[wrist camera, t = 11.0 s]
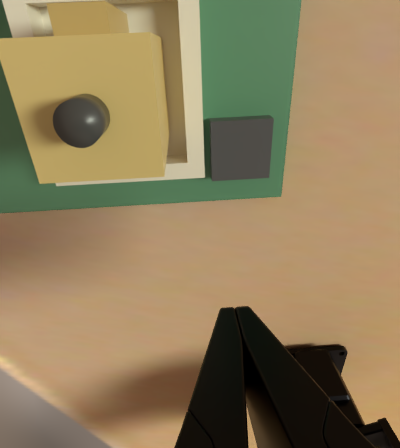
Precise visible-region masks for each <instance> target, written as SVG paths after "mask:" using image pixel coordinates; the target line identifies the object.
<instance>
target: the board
mask: <svg viewBox="0 0 400 448" xmlns="http://www.w3.org/2000/svg"><path fill="white" fill-rule="evenodd" d="M92 1H106V2H108V3H110V4H111V5H113V6H115V7H116V8H118V9H119V10H121V11H123V12H124V13H126V14H127V19H128V27H129V33H139V32H151V33H153V34H155V35H157V36H159V37H161V39H162V50H163V62H164V74H165V85H166V97H167V108H168V120H169V131H170V133H169V141H168V150H167V159H166V168H165V177H151V178H133V179H116V180H98V181H81V182H63V183H46V184H40V183H39V180H38V177H37V174H36V171H35V167H34V164H33V161H32V158H31V155H30V152H29V149H28V146H27V142H26V139H25V136H24V133H23V130H22V127H21V124H20V121H19V117H18V114H17V111H16V108H15V105H14V102H13V99H12V96H11V93H10V89H9V86H8V83H7V80H6V77H5V74H4V71H3V68H2V64H1V61H0V213H14V212H30V211H47V210H64V209H81V208H97V207H114V206H131V205H148V204H164V203H181V202H198V201H215V200H231V199H248V198H265V197H281V193H282V183H283V173H284V164H285V154H286V144H287V134H288V125H289V115H290V105H291V96H292V86H293V76H294V67H295V57H296V47H297V37H298V28H299V18H300V8H301V0H0V38H21V37H44V36H54V34H53V30H52V26H51V21H50V17H49V13H48V9H47V4H46V3H66V2H92Z"/></svg>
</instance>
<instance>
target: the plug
mask: <svg viewBox="0 0 400 448" xmlns="http://www.w3.org/2000/svg"><path fill="white" fill-rule="evenodd" d="M46 4H47V9H48V13H49V17H50V21H51V26H52V30H53V34H54V36H44V37H21V38H0V61H1V64H2V68H3V71H4V74H5V77H6V80H7V83H8V86H9V89H10V93H11V96H12V99H13V102H14V105H15V108H16V111H17V114H18V117H19V121H20V124H21V127H22V130H23V133H24V136H25V139H26V142H27V146H28V149H29V152H30V155H31V158H32V161H33V164H34V167H35V171H36V174H37V177H38V180H39V183H40V184H46V183H63V182H81V181H98V180H116V179H133V178H151V177H165V168H166V159H167V150H168V141H169V133H170V131H169V120H168V108H167V97H166V85H165V74H164V62H163V50H162V39H161V37H159V36H157V35H155V34H153V33H151V32H139V33H129V27H128V19H127V14H126V13H124V12H123V11H121V10H119V9H118V8H116V7H115V6H113V5H111V4H110V3H108V2H106V1H92V2H66V3H46Z"/></svg>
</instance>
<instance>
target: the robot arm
mask: <svg viewBox="0 0 400 448" xmlns="http://www.w3.org/2000/svg"><path fill="white" fill-rule="evenodd" d="M346 356H347V350H346V348H345V347H344V346H331V347H318V348H304V349H291V350H287V349H286V348H285V347H284V346H283V345H282V343H281V342H280V341H279V340H278V339H277V338H276V337H275V335H274V334H273V333H272V332H271V331H270V330H269V329H268V328H267V326H266V325H265V324H264V323H263V322H262V321H261V320H260V318H259V317H258V316H257V315H256V314H255V313H254V312H253V310H252V309H251V308H250V307H248V306H242V307H236V308H235V309H234V308H233V307H227V308H221V309H220V311H219V314H218V317H217V320H216V323H215V326H214V329H213V333H212V336H211V339H210V342H209V345H208V348H207V351H206V354H205V357H204V360H203V364H202V367H201V370H200V373H199V376H198V379H197V382H196V385H195V388H194V391H193V395H192V398H191V401H190V404H189V407H188V412H187V413H186V416H185V419H184V422H183V425H182V428H181V431H180V433H179V436H178V439H177V442H176V445H175V447H174V448H248V430H247V411H246V404H247V408H248V412H249V416H250V420H251V424H252V428H253V431H254V435H255V439H256V443H257V447H258V448H400V441H399V440H398V438H397V436H396V435H395V433H394V431H393V430H392V428H391V426H390V425H389V423H388V421H387V420H386V418H382V419H379V420H378V421H377V422H374V423H371V424H367V425H365V423H364V421H363V419H362V417H361V415H360V413H359V411H358V409H357V407H356V405H355V403H354V401H353V399H352V397H351V395H350V393H349V391H348V389H347V387H346V385H345V383H344V381H343V379H342V377H341V372H342V369H343V366H344V363H345V359H346Z"/></svg>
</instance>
